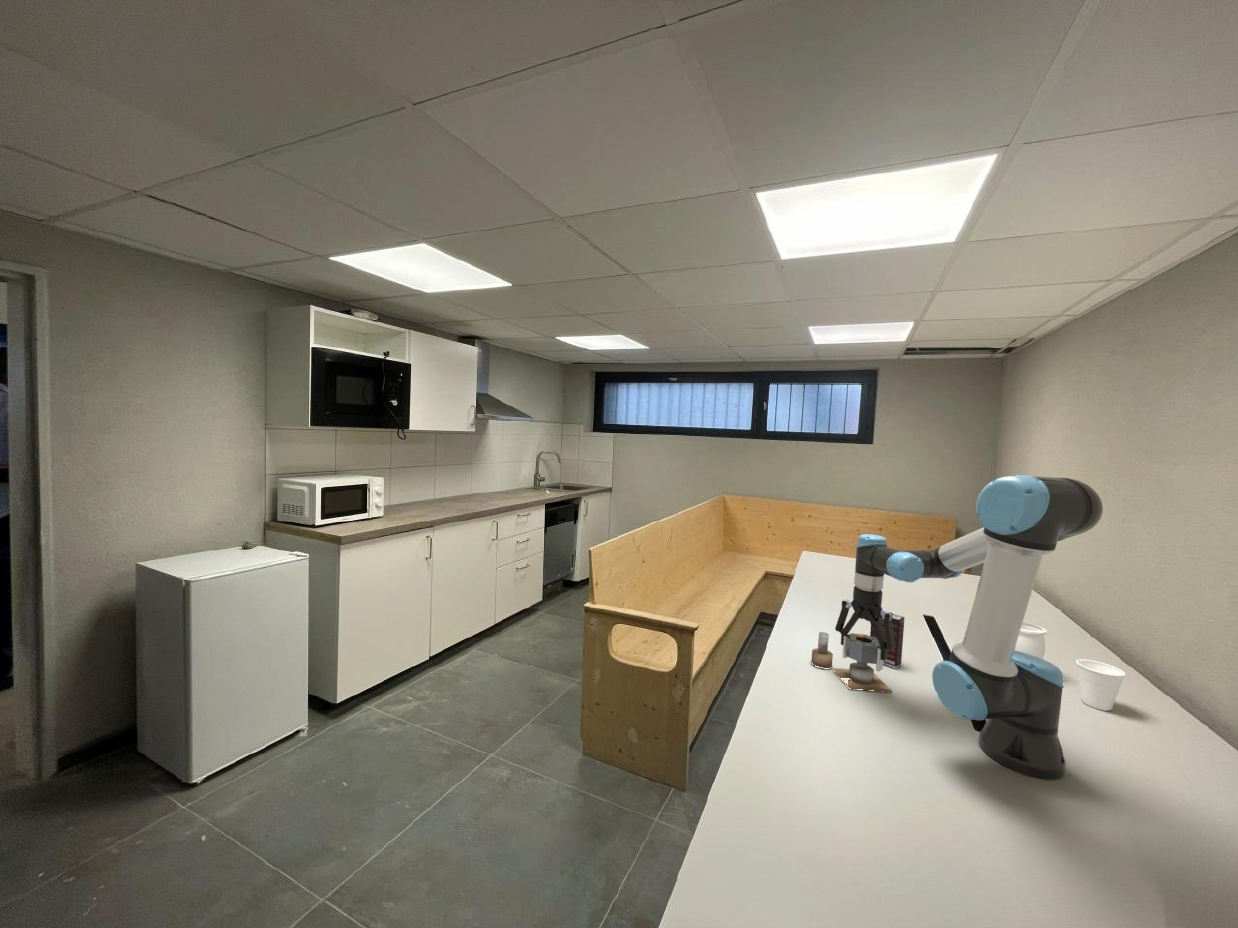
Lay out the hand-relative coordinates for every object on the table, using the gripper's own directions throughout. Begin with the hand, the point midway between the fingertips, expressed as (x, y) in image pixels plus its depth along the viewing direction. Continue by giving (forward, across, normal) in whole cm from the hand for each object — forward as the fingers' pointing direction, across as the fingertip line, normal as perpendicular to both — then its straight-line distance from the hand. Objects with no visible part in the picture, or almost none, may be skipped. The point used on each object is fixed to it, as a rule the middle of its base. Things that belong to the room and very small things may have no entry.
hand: (862, 663), depth 142 cm
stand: (+5, +12, 0) cm, 13 cm away
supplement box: (+6, +2, -20) cm, 21 cm away
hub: (+5, 0, 0) cm, 5 cm away
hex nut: (-2, 0, 0) cm, 2 cm away
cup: (+6, -44, -45) cm, 63 cm away
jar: (+6, -26, -53) cm, 59 cm away
